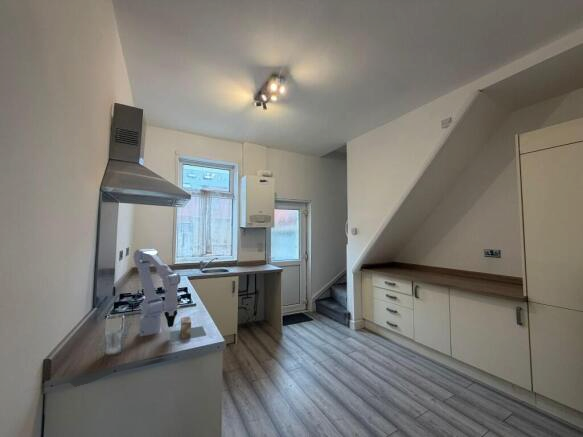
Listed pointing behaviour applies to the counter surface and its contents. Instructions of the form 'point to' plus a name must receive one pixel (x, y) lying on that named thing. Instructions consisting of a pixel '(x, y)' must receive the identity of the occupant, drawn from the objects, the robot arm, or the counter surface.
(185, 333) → the mottled beige block
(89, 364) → the counter surface
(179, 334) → the rubber mat
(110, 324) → the beer glass
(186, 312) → the counter surface
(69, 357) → the counter surface
